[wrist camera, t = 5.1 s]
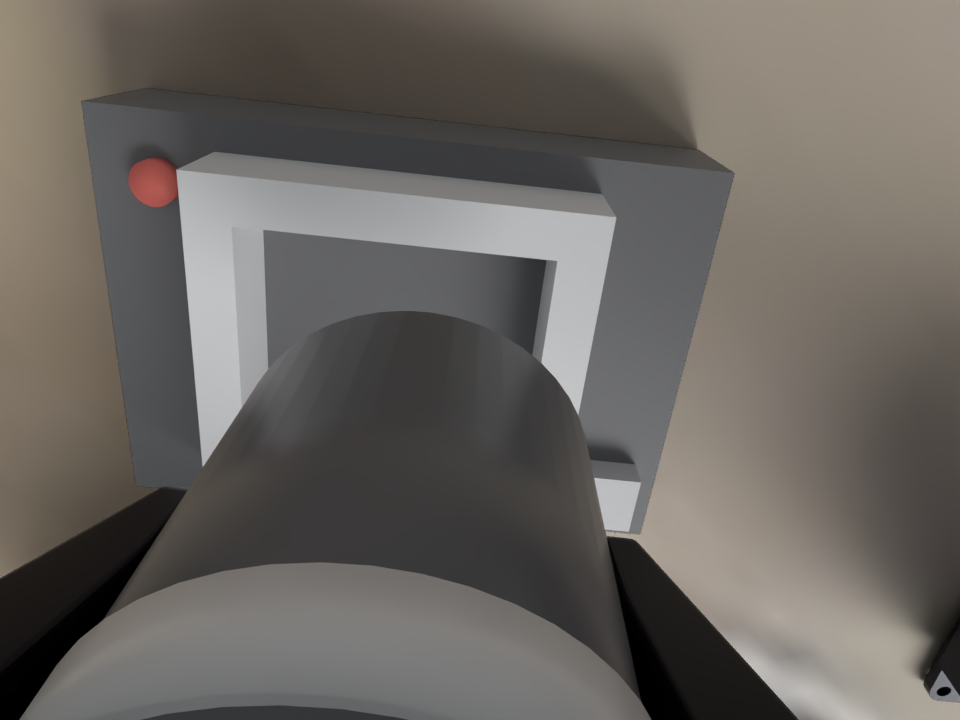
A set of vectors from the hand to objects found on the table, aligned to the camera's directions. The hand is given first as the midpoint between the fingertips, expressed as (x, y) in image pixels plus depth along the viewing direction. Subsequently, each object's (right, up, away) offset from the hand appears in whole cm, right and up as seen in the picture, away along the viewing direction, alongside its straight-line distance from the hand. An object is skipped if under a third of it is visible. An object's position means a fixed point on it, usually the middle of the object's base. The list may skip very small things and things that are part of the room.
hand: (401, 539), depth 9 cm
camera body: (-1, +4, +11) cm, 12 cm away
